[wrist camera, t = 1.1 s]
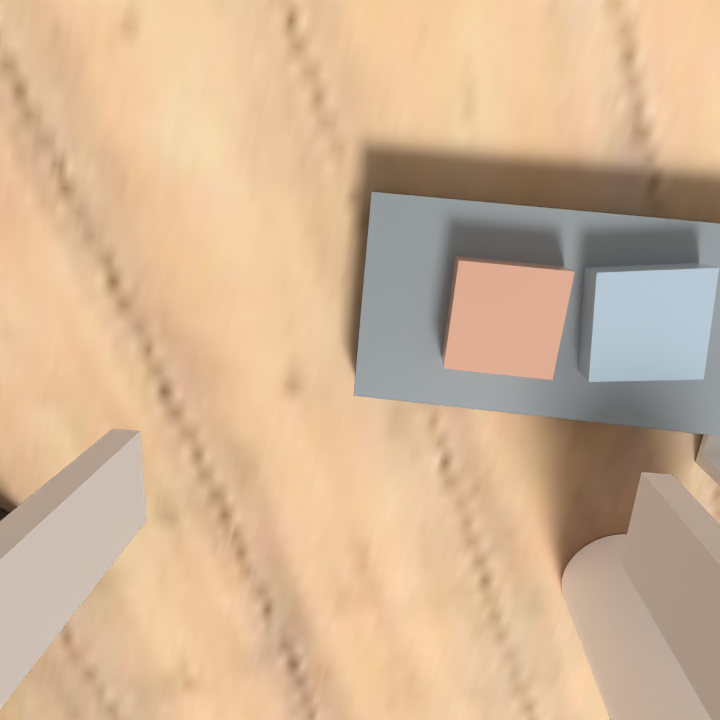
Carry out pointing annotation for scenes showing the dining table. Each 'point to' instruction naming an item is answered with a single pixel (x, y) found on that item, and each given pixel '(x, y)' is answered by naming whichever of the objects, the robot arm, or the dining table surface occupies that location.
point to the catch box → (710, 456)
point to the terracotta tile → (506, 317)
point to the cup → (624, 639)
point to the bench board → (529, 245)
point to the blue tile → (646, 322)
